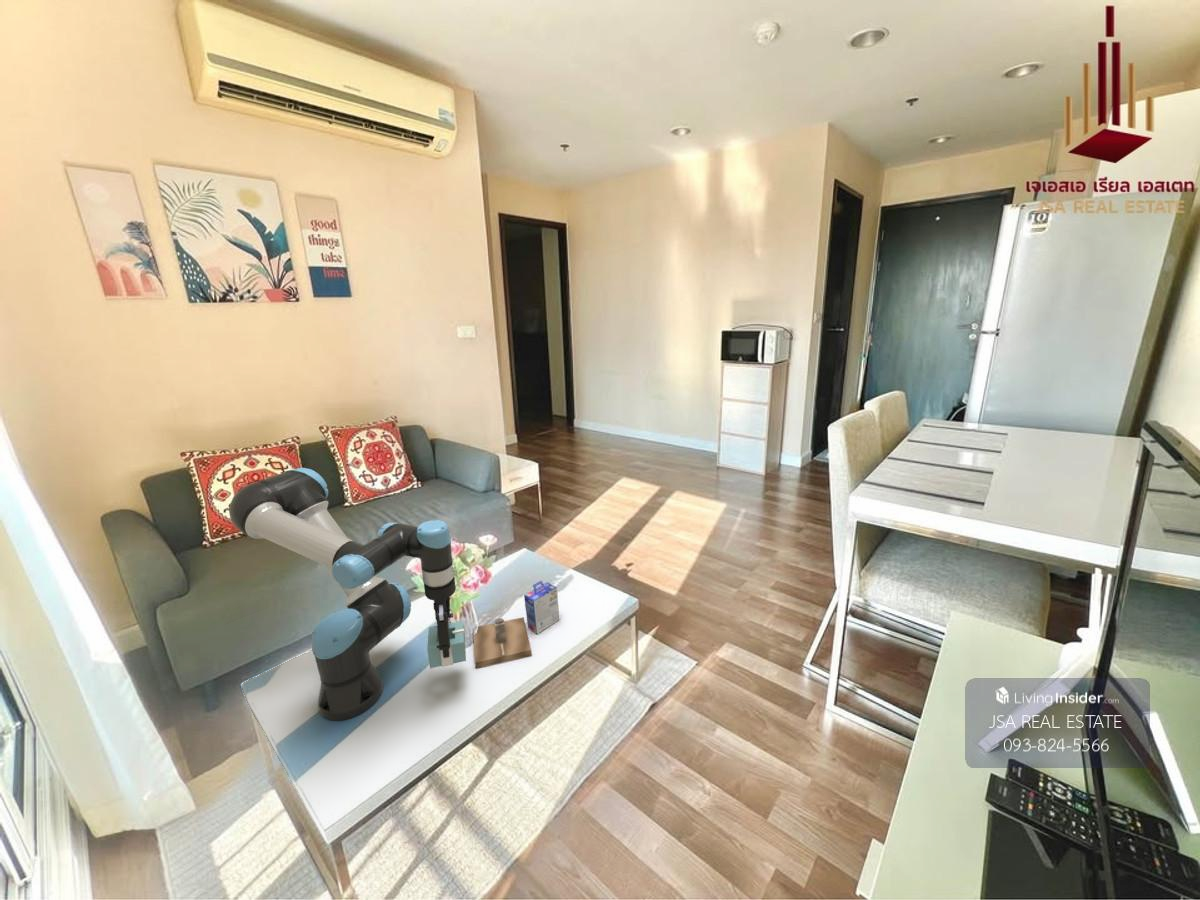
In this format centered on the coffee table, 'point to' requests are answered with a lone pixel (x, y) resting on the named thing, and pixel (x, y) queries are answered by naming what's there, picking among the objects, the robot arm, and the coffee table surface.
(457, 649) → the gray-green box with recess
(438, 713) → the coffee table surface
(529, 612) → the ink cartridge box
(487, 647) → the brown wooden base
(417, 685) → the coffee table surface
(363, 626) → the robot arm
